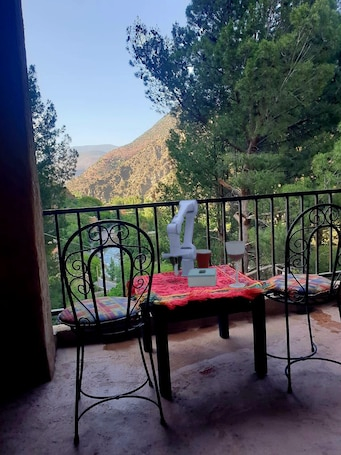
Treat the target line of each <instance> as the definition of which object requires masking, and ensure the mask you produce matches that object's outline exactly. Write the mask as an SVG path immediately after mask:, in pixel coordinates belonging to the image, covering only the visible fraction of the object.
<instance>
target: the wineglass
mask: <svg viewBox="0 0 341 455" xmlns="http://www.w3.org/2000/svg"><path fill="white" fill-rule="evenodd" d="M225 249H226V255H227V257H228V258H229V259H230V260H231V261H234V263H235V278H236V282H235V283H231V284H229V285H228V286H229V287H231V288H233V289H235V288H236V289H237V288H245V287H246V286H245V285H246V284H245V283H243V282H242V283H241V282H239V272H238V262H239V261H241V260H242V259H243V258H244V256H245V251H246V242H245V241H244V240H231V241H226V242H225ZM244 286H245V287H244Z"/></svg>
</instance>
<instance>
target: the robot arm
mask: <svg viewBox="0 0 341 455" xmlns="http://www.w3.org/2000/svg"><path fill="white" fill-rule="evenodd" d="M178 208H179V209H178V212H177V214H175V215H174V216H173V218H172V220H171V222H170V223H169V224H167V225H166V234H167V238H168V239H169V240H168V242H169V253H162V254H161V255H162V256H161V257H162V259H164V258H165V259H166V258H168V260H169V262H170V264H171V265H172V269H173V271H174V272H175V270H174V266H175V264H176V261H177V264H178V271H179V272H180V271H181V275H180V277H181V278H182V277H188V276H187V275H188V273H189V271H190V269H195V261H194V260H196V250H197V247H196V246H195V245H194V244H193V236H194V235H193V234H194V225H195V218H196V216H197V215H198V208H199V205H198V201H197V200H196V199H191V200H188V199H187V200H180V201H179V204H178ZM184 217H185V218H184ZM184 221H185V226H184V235H183V243H182V244H181V236H180V234H181V232H182V225H183V223H184Z"/></svg>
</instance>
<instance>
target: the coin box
mask: <svg viewBox="0 0 341 455" xmlns="http://www.w3.org/2000/svg"><path fill="white" fill-rule="evenodd" d="M217 276H218V275H217V268H216V267H214V268H213V267H212V268H210V267H208V268H207V269H198V268H194V269H190V271H189V273H188V275H187V276H186V277H187V287H188V288H193V287H195V288H196V287H216V285H217V281H218V280H217V279H218V277H217Z"/></svg>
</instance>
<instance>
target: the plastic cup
mask: <svg viewBox="0 0 341 455" xmlns="http://www.w3.org/2000/svg"><path fill="white" fill-rule="evenodd" d="M211 253H212V250H210V249H201V248H200V249H196V258H195V260H196V264H197V269H207V268H210V267H209V266H210V259H211V258H210V257H211V255H212V254H211Z"/></svg>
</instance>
